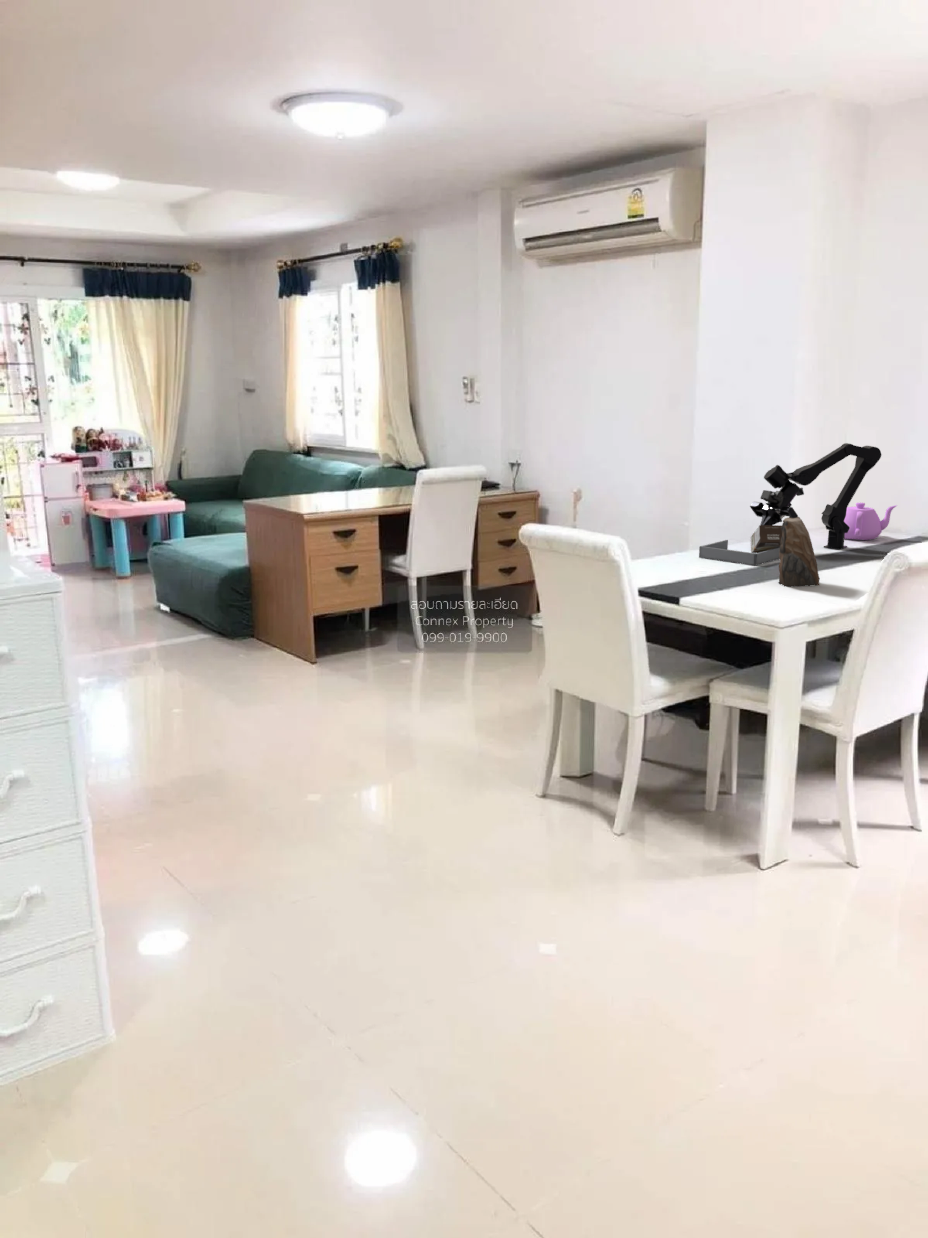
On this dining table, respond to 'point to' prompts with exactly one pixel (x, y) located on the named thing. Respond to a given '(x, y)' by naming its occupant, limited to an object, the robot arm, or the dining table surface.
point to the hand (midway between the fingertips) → (760, 529)
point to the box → (736, 554)
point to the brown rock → (796, 555)
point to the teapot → (865, 522)
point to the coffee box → (766, 538)
